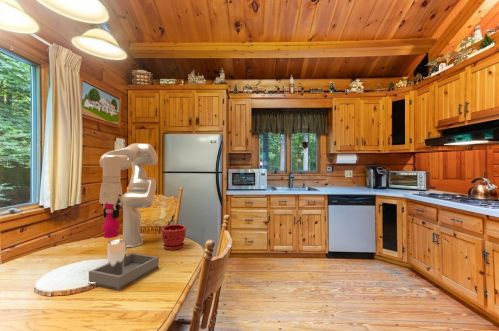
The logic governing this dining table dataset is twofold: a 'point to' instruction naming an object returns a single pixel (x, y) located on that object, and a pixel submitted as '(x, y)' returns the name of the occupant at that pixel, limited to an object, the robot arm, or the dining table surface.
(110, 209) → the pepper mill
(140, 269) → the tote
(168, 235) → the plant pot
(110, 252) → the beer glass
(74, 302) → the dining table surface
